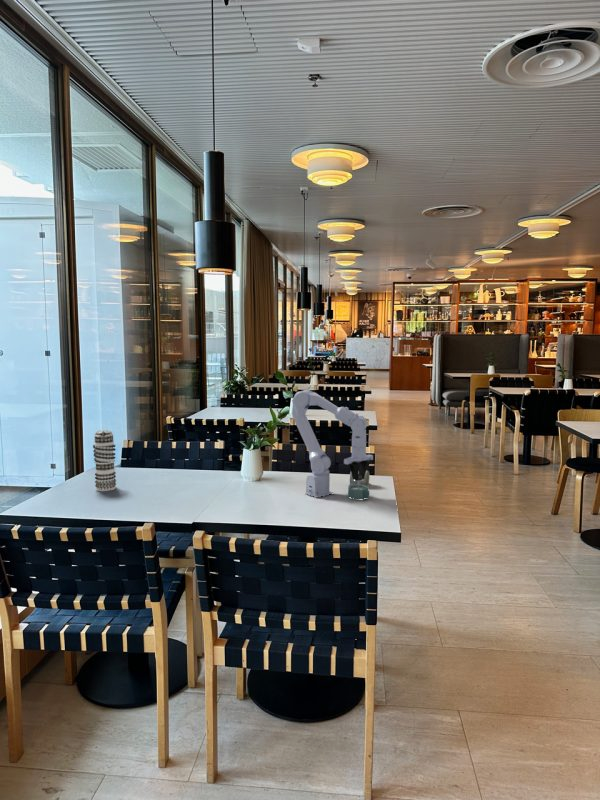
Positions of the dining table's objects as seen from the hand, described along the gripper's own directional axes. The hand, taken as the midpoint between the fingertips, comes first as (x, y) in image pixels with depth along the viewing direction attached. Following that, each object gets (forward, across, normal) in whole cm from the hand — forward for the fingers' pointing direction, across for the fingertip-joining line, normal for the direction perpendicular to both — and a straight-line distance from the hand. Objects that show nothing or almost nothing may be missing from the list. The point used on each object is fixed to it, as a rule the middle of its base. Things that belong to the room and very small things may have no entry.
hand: (358, 479), depth 226 cm
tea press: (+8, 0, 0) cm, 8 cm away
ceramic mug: (+8, +14, +14) cm, 21 cm away
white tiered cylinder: (+8, -77, +76) cm, 108 cm away
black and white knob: (+4, 0, 0) cm, 4 cm away
